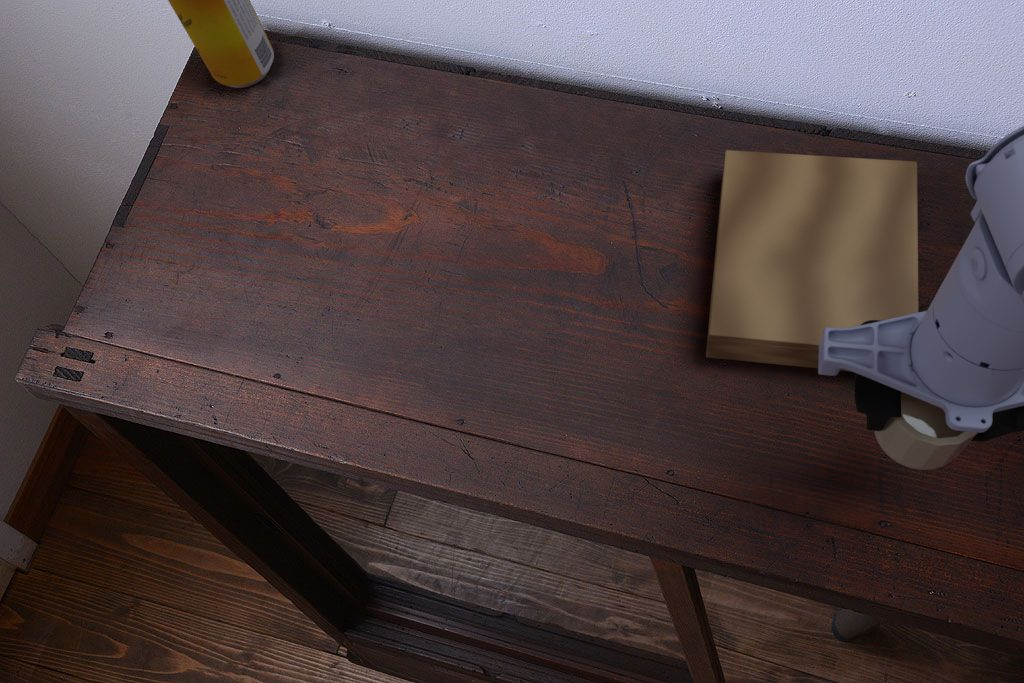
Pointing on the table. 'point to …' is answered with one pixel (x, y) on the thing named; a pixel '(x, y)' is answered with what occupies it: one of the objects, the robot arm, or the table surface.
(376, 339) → the table surface
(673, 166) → the table surface
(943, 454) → the ramekin
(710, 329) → the square wooden board
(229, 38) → the beer can
